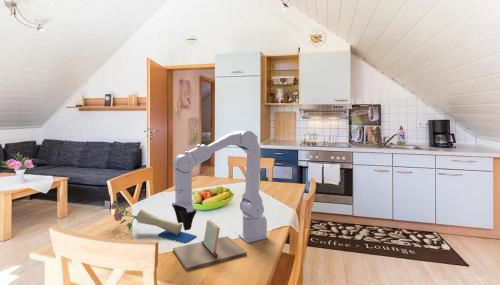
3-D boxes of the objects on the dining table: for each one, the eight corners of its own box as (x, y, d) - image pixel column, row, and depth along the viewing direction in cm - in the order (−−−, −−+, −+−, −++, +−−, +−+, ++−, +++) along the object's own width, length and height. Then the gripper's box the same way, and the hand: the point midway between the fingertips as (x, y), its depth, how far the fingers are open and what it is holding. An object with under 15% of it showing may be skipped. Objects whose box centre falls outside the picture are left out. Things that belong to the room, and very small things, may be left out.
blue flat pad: (185, 242, 111) (157, 234, 118) (185, 245, 112) (157, 236, 118) (197, 235, 118) (169, 228, 125) (197, 238, 118) (169, 230, 125)
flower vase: (171, 254, 118) (99, 228, 125) (185, 235, 129) (118, 212, 136) (171, 233, 113) (96, 207, 120) (186, 214, 124) (117, 191, 131)
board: (227, 238, 116) (227, 233, 116) (246, 254, 102) (246, 248, 102) (173, 250, 105) (172, 244, 105) (186, 270, 92) (186, 264, 91)
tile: (210, 220, 108) (207, 220, 107) (219, 228, 100) (216, 228, 100) (206, 243, 108) (203, 243, 107) (215, 253, 100) (212, 253, 100)
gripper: (166, 185, 106) (167, 221, 107) (178, 194, 93) (178, 235, 94) (185, 183, 109) (186, 218, 110) (199, 192, 97) (199, 231, 98)
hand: (184, 226), depth 102 cm, fingers open, 7 cm apart
